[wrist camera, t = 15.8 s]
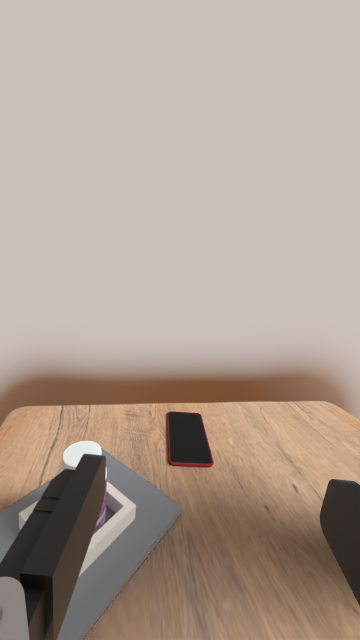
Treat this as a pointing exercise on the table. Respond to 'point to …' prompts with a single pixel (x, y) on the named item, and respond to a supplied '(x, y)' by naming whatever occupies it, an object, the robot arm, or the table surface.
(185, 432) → the smartphone
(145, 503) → the socket plate
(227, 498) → the table surface
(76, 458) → the pill bottle
